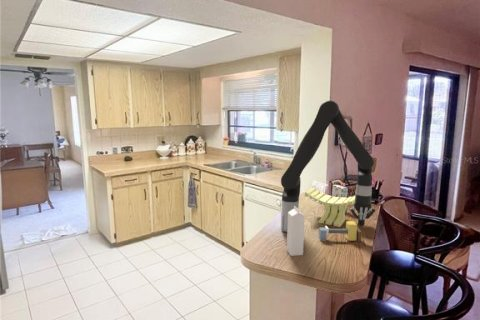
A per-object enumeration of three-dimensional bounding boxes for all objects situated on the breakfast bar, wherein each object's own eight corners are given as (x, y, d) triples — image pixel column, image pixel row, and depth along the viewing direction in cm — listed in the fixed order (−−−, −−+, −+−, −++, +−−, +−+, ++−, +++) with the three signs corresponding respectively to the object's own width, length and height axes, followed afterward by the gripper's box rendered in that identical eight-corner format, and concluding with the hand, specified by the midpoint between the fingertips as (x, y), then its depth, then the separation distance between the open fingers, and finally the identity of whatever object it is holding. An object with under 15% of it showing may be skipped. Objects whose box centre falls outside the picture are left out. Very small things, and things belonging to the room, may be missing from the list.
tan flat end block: (357, 242, 153) (358, 231, 152) (353, 237, 159) (354, 227, 158) (360, 242, 153) (361, 231, 152) (356, 237, 158) (357, 227, 158)
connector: (320, 240, 154) (320, 230, 153) (318, 237, 158) (319, 227, 157) (326, 240, 154) (326, 230, 153) (324, 237, 158) (324, 227, 157)
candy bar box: (347, 212, 199) (348, 188, 197) (340, 212, 198) (342, 188, 195) (337, 207, 210) (338, 184, 207) (330, 207, 208) (332, 184, 206)
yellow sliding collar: (348, 240, 153) (349, 224, 152) (345, 236, 158) (346, 221, 157) (356, 240, 153) (357, 224, 152) (352, 236, 158) (353, 221, 157)
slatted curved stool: (360, 221, 182) (362, 192, 180) (355, 229, 169) (357, 199, 166) (312, 212, 198) (313, 186, 195) (304, 219, 185) (305, 191, 182)
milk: (298, 249, 144) (300, 205, 141) (303, 255, 138) (305, 209, 135) (286, 250, 143) (287, 205, 140) (290, 256, 138) (292, 209, 134)
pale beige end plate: (326, 236, 154) (326, 228, 153) (324, 233, 158) (324, 225, 157) (328, 236, 154) (328, 228, 153) (326, 233, 158) (326, 225, 157)
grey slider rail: (321, 233, 155) (321, 229, 155) (320, 231, 157) (320, 228, 156) (360, 233, 154) (360, 230, 154) (359, 232, 156) (359, 229, 156)
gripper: (352, 195, 148) (350, 228, 151) (379, 195, 148) (377, 229, 151) (347, 191, 156) (345, 223, 158) (373, 191, 155) (371, 223, 158)
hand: (361, 226), depth 155 cm, fingers closed
